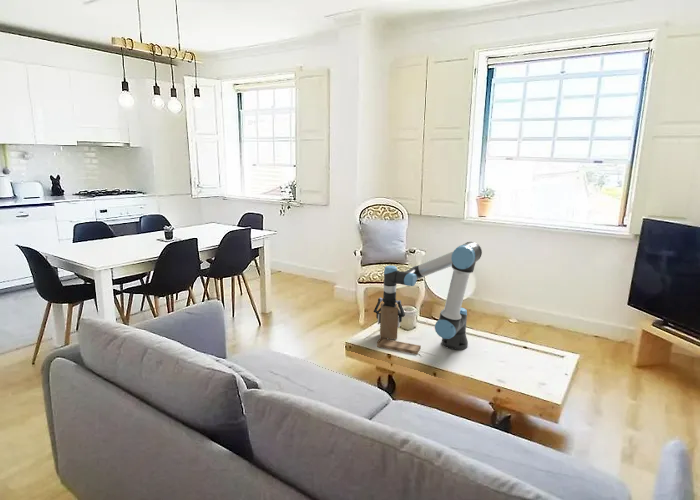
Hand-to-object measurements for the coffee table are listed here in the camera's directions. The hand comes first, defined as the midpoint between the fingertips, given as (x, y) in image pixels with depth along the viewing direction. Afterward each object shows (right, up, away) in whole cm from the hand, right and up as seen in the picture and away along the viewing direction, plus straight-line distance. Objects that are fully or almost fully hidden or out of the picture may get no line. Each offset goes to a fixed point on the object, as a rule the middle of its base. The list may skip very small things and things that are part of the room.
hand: (388, 325), depth 269 cm
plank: (+5, -11, -12) cm, 17 cm away
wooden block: (0, -7, +2) cm, 8 cm away
